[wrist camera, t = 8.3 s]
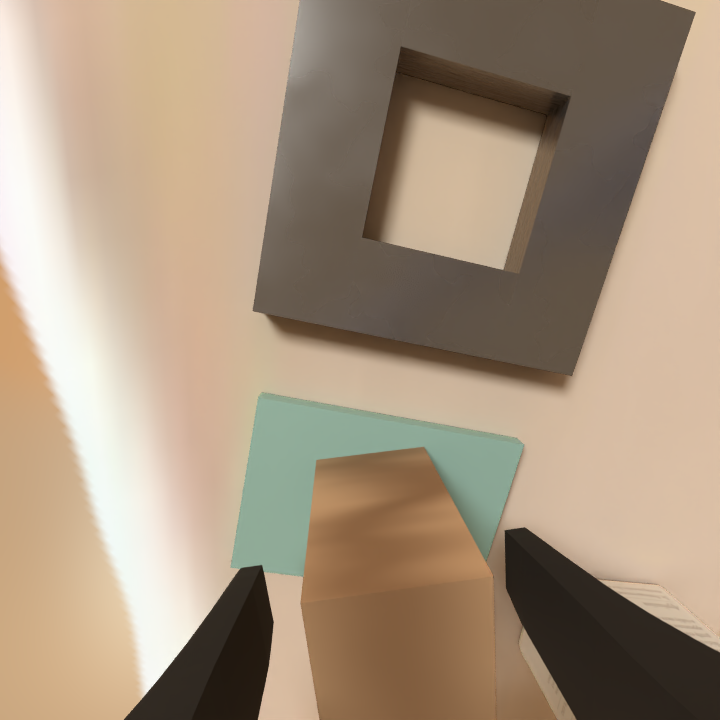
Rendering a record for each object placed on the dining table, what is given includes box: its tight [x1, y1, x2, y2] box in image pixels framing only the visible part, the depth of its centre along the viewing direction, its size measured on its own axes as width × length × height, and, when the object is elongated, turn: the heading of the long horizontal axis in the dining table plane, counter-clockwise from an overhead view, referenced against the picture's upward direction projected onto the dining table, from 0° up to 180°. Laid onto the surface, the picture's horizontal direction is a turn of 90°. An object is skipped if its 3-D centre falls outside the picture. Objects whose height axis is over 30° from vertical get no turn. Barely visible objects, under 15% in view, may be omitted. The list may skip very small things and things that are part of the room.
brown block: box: [301, 447, 496, 720], centre depth 11 cm, size 4×4×6 cm
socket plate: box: [253, 0, 696, 376], centre depth 11 cm, size 11×11×1 cm
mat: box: [231, 393, 524, 577], centre depth 14 cm, size 10×7×1 cm
